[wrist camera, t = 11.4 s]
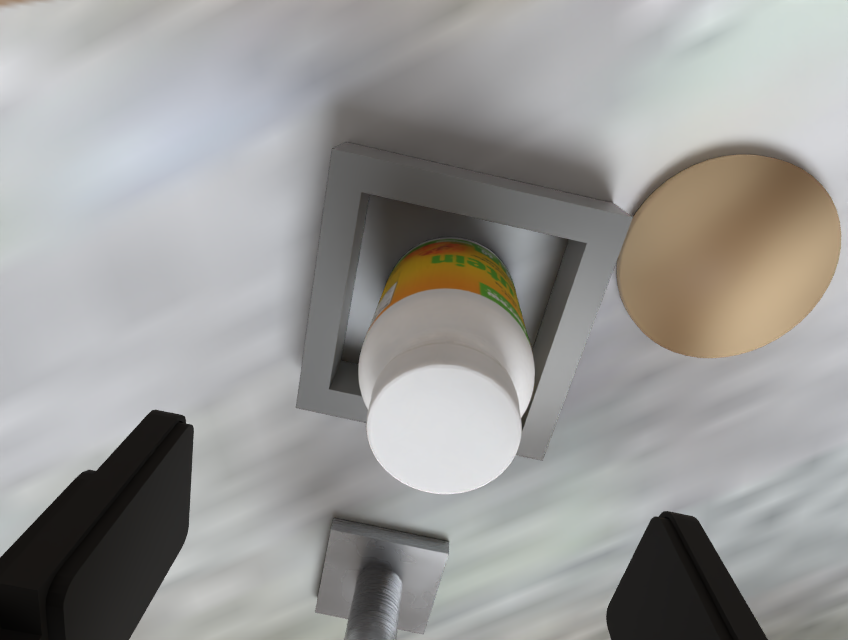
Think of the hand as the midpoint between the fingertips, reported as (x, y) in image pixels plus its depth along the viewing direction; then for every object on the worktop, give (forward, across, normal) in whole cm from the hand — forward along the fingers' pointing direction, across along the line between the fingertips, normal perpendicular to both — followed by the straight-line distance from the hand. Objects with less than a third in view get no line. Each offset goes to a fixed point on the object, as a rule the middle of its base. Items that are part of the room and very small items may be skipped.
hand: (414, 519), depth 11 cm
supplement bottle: (+13, -1, 0) cm, 13 cm away
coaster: (+12, -11, -4) cm, 17 cm away
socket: (+13, -1, 0) cm, 13 cm away
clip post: (+13, -1, +16) cm, 20 cm away
